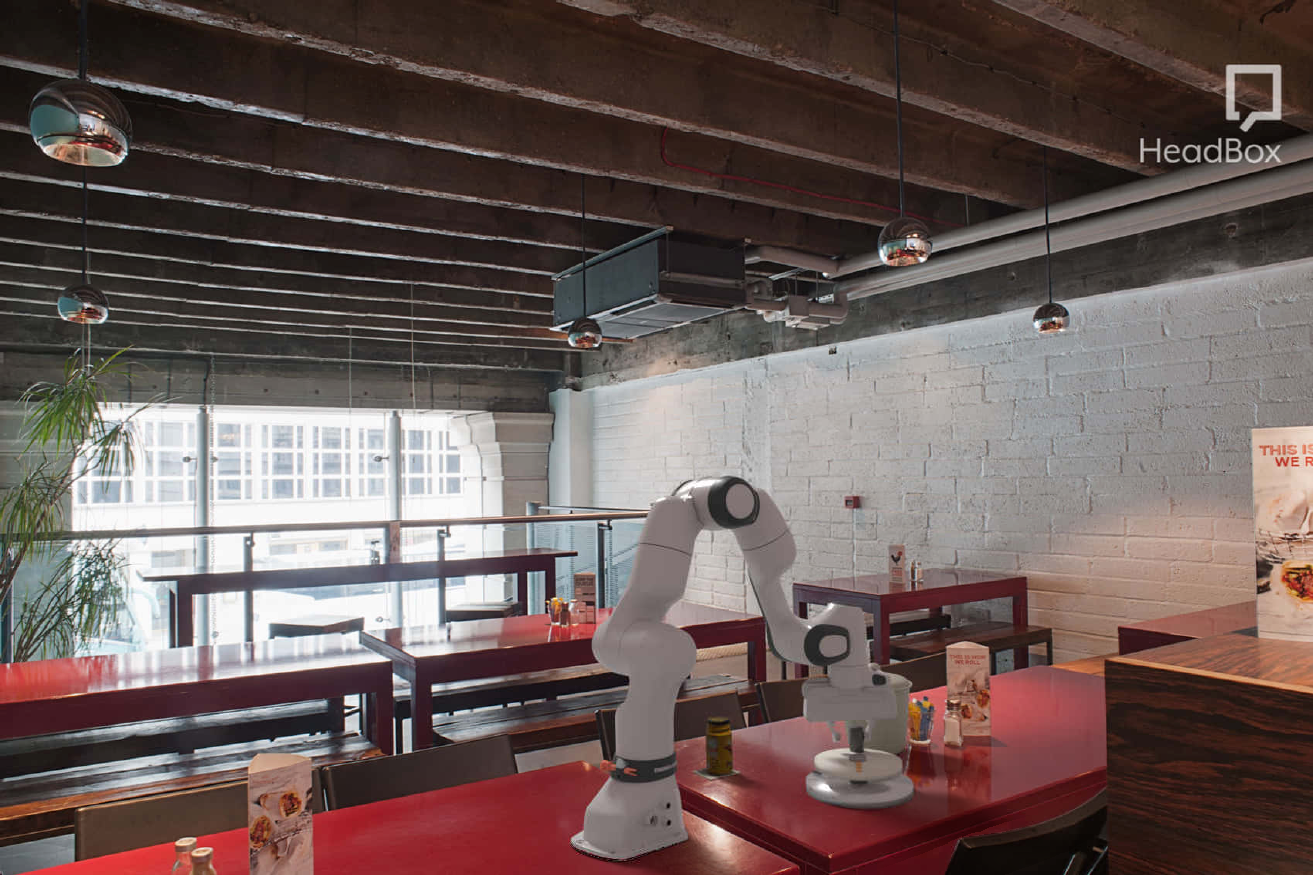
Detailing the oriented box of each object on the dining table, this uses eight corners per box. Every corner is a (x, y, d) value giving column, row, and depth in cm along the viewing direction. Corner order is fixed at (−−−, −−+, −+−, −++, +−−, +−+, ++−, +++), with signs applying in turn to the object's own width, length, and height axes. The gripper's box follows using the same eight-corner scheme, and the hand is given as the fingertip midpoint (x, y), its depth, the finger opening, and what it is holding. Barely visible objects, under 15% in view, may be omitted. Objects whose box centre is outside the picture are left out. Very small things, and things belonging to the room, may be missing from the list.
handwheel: (906, 781, 174) (904, 748, 174) (814, 778, 177) (812, 746, 178) (899, 756, 192) (897, 725, 192) (815, 753, 195) (814, 724, 196)
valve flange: (885, 816, 169) (883, 792, 169) (786, 794, 183) (785, 773, 183) (930, 786, 186) (929, 765, 186) (837, 768, 200) (836, 748, 200)
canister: (876, 766, 200) (872, 673, 202) (823, 748, 216) (819, 662, 217) (931, 753, 210) (927, 663, 211) (877, 737, 225) (873, 654, 227)
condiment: (740, 773, 198) (739, 719, 199) (711, 780, 194) (709, 725, 195) (721, 765, 205) (719, 713, 205) (691, 772, 200) (690, 718, 201)
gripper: (804, 681, 189) (807, 746, 188) (898, 676, 190) (901, 742, 189) (798, 675, 195) (801, 738, 194) (889, 671, 196) (892, 734, 195)
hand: (851, 740), depth 191 cm, fingers open, 5 cm apart
